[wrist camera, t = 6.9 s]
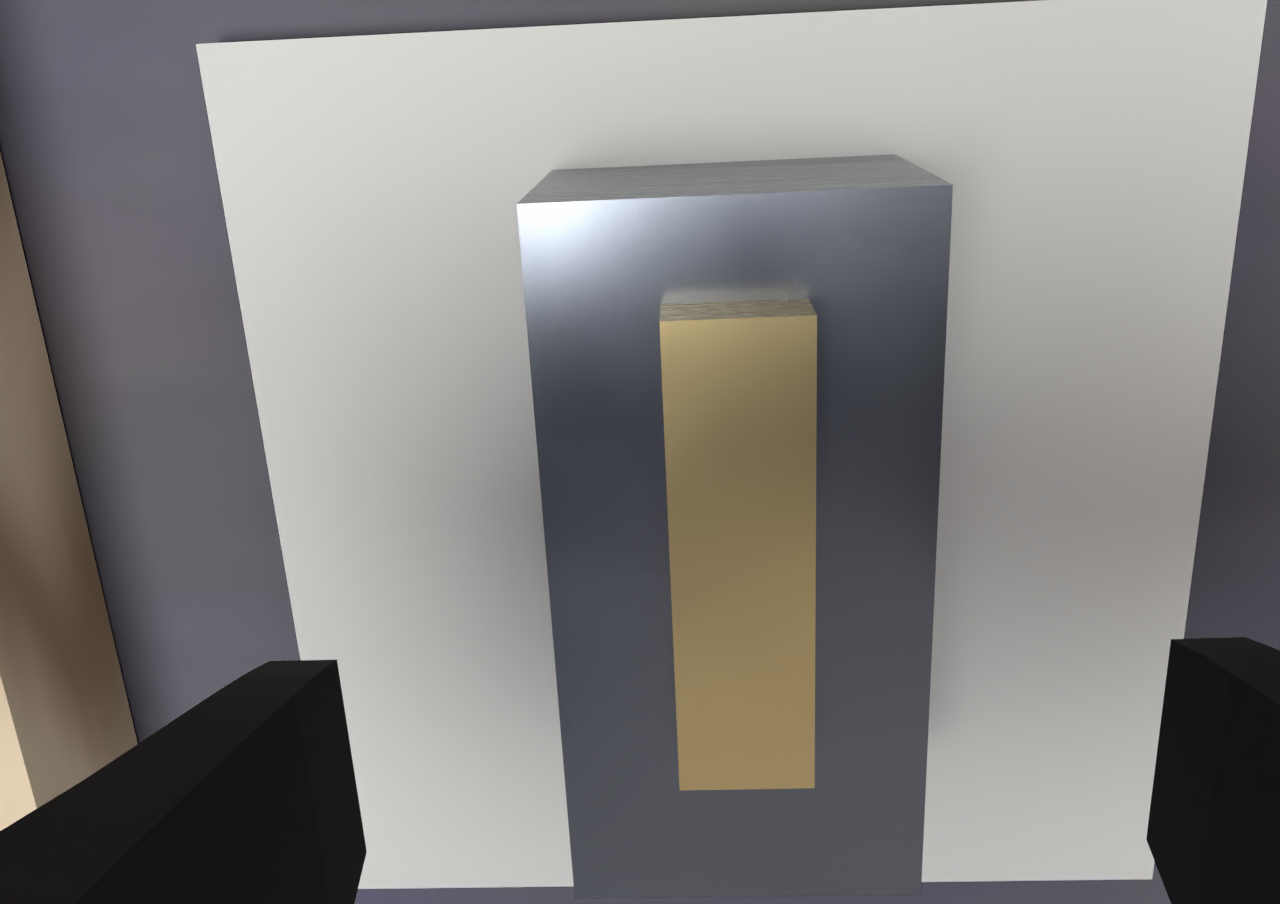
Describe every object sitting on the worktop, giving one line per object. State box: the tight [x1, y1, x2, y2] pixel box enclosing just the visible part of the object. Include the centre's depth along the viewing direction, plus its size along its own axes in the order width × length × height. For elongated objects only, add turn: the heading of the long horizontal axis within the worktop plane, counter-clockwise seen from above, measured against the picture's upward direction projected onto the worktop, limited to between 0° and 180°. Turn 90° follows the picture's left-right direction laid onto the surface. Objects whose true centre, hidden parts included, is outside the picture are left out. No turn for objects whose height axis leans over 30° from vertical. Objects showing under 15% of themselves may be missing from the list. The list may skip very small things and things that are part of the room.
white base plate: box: [196, 0, 1267, 889], centre depth 15 cm, size 12×12×1 cm
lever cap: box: [517, 154, 953, 899], centre depth 13 cm, size 8×4×4 cm, turn 3°
